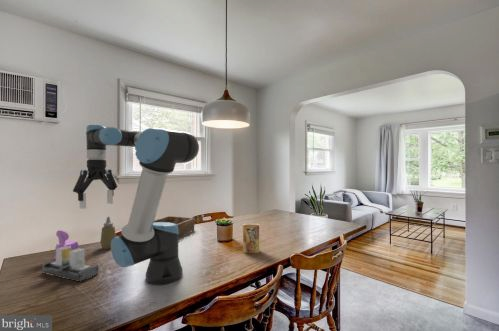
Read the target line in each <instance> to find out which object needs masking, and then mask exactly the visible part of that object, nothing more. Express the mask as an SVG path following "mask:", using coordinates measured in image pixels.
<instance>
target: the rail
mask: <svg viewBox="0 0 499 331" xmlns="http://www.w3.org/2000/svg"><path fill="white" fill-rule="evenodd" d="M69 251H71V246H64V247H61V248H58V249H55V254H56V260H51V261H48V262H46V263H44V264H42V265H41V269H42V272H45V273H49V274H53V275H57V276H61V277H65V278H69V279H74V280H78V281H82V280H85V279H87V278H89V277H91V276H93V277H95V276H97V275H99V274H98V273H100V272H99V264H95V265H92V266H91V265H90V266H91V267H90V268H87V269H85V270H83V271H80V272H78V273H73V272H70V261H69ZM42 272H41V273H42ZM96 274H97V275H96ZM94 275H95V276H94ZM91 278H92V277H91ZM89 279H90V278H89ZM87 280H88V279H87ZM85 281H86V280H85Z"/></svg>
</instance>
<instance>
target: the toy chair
mask: <svg viewBox="0 0 499 331" xmlns="http://www.w3.org/2000/svg"><path fill="white" fill-rule="evenodd" d="M55 235H56V237H57V239H58V243H57V244H56V245H55V250H56V249H58V248H61V247H64V246H69V247H71V251H72V250H75V249H78V248H79V243H78V241H72V240H69V236H70V235H69V233H68V232H67V231H65V230H61V229H59V230H57V231H56V234H55ZM54 254H55V255H54V257H53V259H56V253H54Z"/></svg>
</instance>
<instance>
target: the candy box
mask: <svg viewBox="0 0 499 331" xmlns="http://www.w3.org/2000/svg"><path fill="white" fill-rule="evenodd" d="M242 232H243V233H242V235H243V236H242V237H243V238H242V241H243V243H242V244H243V245H242V250H243V254H248V253H250V254H252V253H253V254H258V253H260V224H259V223H243V225H242Z"/></svg>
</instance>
